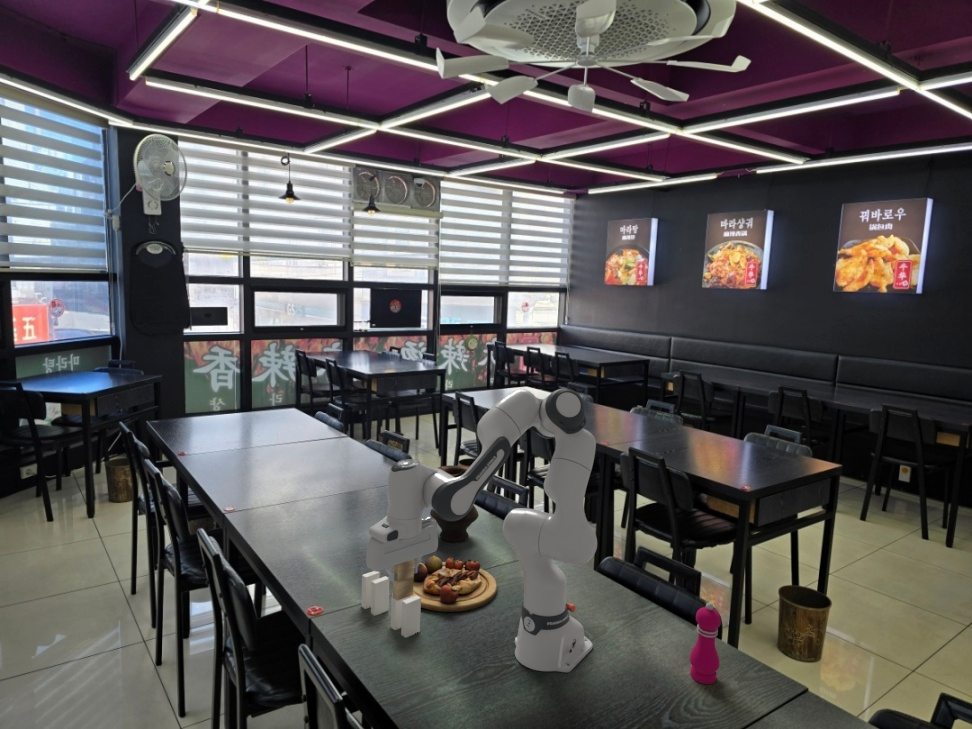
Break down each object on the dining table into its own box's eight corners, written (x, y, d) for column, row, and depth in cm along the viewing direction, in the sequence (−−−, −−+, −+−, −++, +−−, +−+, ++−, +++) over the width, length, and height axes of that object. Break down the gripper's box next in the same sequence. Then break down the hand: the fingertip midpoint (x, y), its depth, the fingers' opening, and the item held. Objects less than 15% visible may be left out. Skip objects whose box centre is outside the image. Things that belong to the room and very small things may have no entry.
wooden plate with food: (486, 621, 184) (487, 594, 183) (383, 605, 190) (384, 579, 189) (504, 575, 216) (506, 552, 215) (415, 562, 222) (416, 539, 221)
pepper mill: (711, 668, 165) (718, 596, 163) (722, 685, 158) (729, 610, 156) (684, 667, 165) (690, 595, 162) (694, 685, 158) (700, 610, 155)
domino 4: (404, 621, 182) (405, 588, 181) (409, 624, 180) (410, 591, 179) (390, 627, 178) (391, 594, 177) (394, 630, 177) (395, 596, 176)
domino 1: (375, 601, 192) (376, 570, 191) (379, 603, 191) (379, 572, 190) (361, 606, 189) (362, 574, 188) (365, 609, 188) (365, 577, 186)
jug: (422, 531, 248) (425, 457, 244) (465, 525, 256) (468, 453, 252) (442, 552, 229) (444, 472, 225) (487, 545, 237) (491, 468, 233)
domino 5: (415, 628, 178) (416, 595, 177) (419, 631, 177) (421, 598, 176) (401, 634, 175) (402, 600, 174) (405, 637, 173) (406, 603, 172)
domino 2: (384, 607, 189) (385, 576, 188) (388, 610, 188) (389, 578, 186) (370, 613, 185) (371, 581, 184) (374, 615, 184) (375, 583, 183)
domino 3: (408, 591, 163) (409, 554, 162) (413, 594, 161) (414, 557, 160) (392, 597, 159) (393, 560, 158) (397, 600, 158) (398, 562, 157)
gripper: (428, 511, 167) (427, 561, 169) (363, 530, 153) (362, 584, 155) (444, 518, 163) (442, 569, 165) (377, 538, 149) (376, 593, 151)
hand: (402, 576), depth 160 cm, fingers closed on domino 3, 5 cm apart
